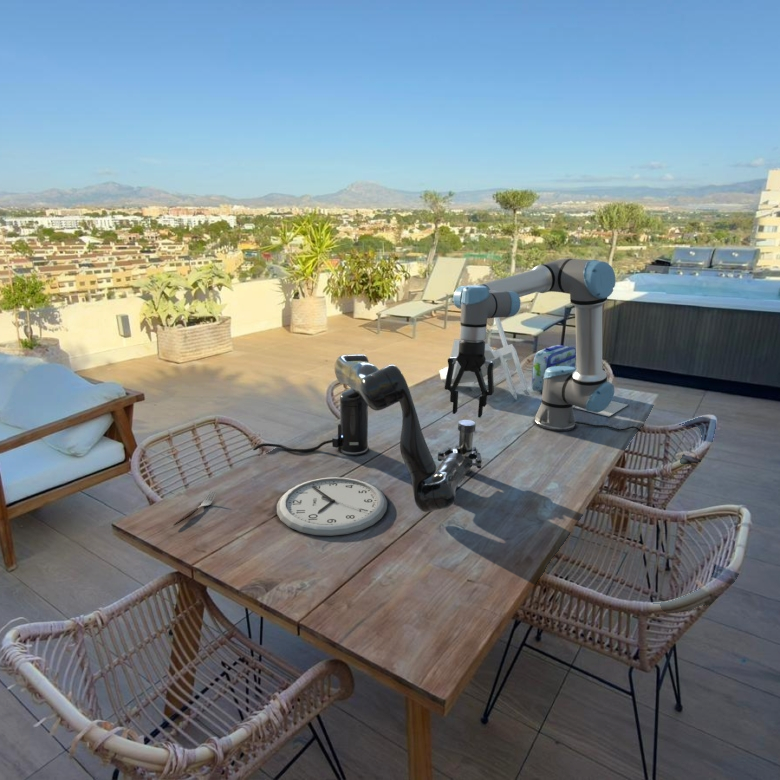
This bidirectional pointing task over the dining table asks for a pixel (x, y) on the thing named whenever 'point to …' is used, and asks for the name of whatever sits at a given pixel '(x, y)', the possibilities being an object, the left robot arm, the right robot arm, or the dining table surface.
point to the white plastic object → (490, 355)
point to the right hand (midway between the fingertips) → (467, 414)
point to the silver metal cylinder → (465, 444)
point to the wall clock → (331, 506)
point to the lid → (466, 426)
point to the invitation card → (608, 408)
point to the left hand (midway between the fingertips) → (467, 448)
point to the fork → (204, 503)
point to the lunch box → (551, 362)
